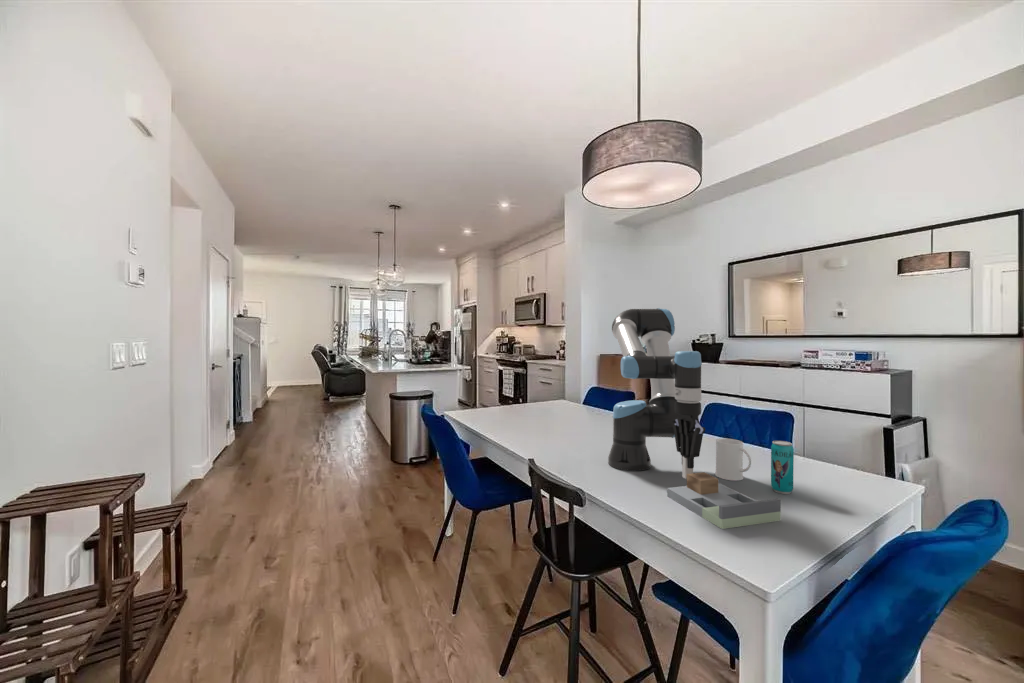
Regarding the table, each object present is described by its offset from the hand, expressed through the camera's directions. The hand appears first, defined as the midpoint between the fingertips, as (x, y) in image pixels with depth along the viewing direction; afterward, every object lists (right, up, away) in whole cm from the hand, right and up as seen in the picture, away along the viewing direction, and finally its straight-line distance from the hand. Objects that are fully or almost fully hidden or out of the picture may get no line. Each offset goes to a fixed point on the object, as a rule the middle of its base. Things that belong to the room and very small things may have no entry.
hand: (687, 477), depth 129 cm
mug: (+20, -4, +11) cm, 23 cm away
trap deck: (+3, -4, -13) cm, 14 cm away
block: (+2, -2, -6) cm, 7 cm away
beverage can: (+28, -4, -1) cm, 29 cm away
